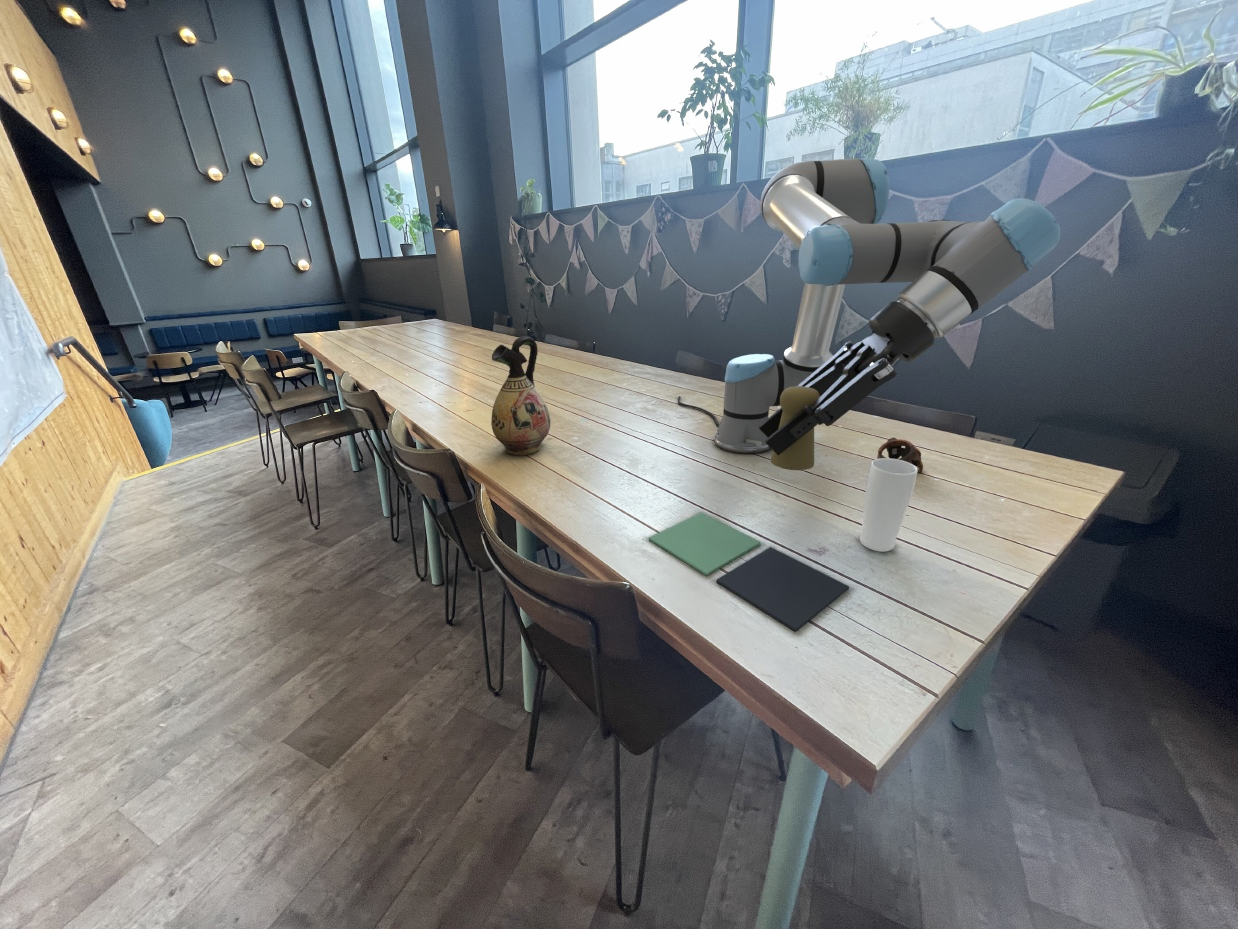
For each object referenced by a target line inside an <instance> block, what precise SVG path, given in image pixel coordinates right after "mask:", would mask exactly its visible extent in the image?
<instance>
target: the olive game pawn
mask: <svg viewBox="0 0 1238 929" xmlns="http://www.w3.org/2000/svg"><path fill="white" fill-rule="evenodd" d="M819 398H820V395H819V393H818V391H817V390H815V389H813V388H809V387H803V386H795V387H789V388H787V389H785V390H784V391H783V392H782V394H781V397H780V405H781V408H782V410H783V413H782V417H781V420H780V424H779V428H781V427H782V426H783V425H784V424H785V423H787V422H788V421H789V420H790V419H791V418H793V417H794V416H795V415H796V414H798V413H799V412H800V411H801V410H802V409H803V406H804V405H808V406H810V407H811V406H812V405H813V404H814V403H815V402H816V401H817V400H818V399H819ZM807 414H808V413H807ZM779 428H778V429H779ZM770 462H771V464H772V465H773V466H775V467H777V468H780V469H783V470H789V471H806V470H809V469H812V468H813V467H814V466H815V427H814V428H813V429H811V430H810V431H809V432H807V433H806V434H805V435H804V436H802V437H801V438H800V439H799V440H797V441H796V442H795V443H794V444H792V445H791V446H790V447H789V448H787V449H786V450H785V451H784V452H782V453H781V454H780V455H779V456H778V455H777V454H776V453H775V452H774V451H773V450H772V452H771V455H770Z"/></svg>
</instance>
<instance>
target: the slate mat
mask: <svg viewBox="0 0 1238 929" xmlns="http://www.w3.org/2000/svg"><path fill="white" fill-rule="evenodd" d="M715 582H716V584H718V585H720V586H721V587H723V588H725V589H726V590H728V591H729V592H731V593H733V594H735V596H738V597H739V598H741V599H742V600H744V601H746V602H747V603H749V604H750V605H752V606H753V607H755V608H757V609H758V610H759V611H762V612H763V613H765V614H766V615H768V616H769V617H771V618H773V619H774V620H775V621H777V622H778V623H781V624H782V625H784V626H785V627H787V628H788V629H790V630H792V631H793V632H797V631H799V630H800V629H801V628H803V627H804V626H805V625H806V624H807V623H809V622H810V621H811V620H812V619H813V618H814V617H816V616H817V615H819V614H820V613H821V612H822V611H824V610H825V609H826V608H827V607H828V606H829V605H831V604H833V602H835V600H837V599H839V598H840V597H841V596H842V595H844V593H845V592H847V591H848V590H850V586H849V585H847V584H845V583H844V582H841V581H839V580H837V579H835V578H833V577H832V576H829V575H828V574H826V573H824V572H822V571H819V570H817V569H815V568H813V567H811V566H809V565H807V564H806V563H804V562H802V561H799V560H798V559H795V558H794V557H792V556H790V555H788V554H786V553H784V552H782V551H780V550H777V549H775V548H773V547H772V546H769V547H768V548H766V549H765V550H763V551H761V552H759V553H758V554H756V555H755V556H753V557H751V558H750V559H748V560H747V561H745V562H743V563H741V564H740V565H738V566H737V567H734V568H733V569H731V570H730V571H727V573H725V574H723V575H721V576H719V577H718V578H717V579H716V580H715Z"/></svg>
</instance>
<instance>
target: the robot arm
mask: <svg viewBox="0 0 1238 929" xmlns="http://www.w3.org/2000/svg"><path fill="white" fill-rule="evenodd" d="M889 197H890V177H889V173H888V170H887V167H886V165H885V163H883V162H882V161H881V160H879V159H876V158H861V157H853V158H839V159H826V160H825V159H824V160H823V159H822V160H803V161H798V162H794V163H792V164H789V165H788V166H787V165H786V166H785V167H783V168H782V169H780V170H779V171H777V172H776V173H775V174H774V175H773V176H772V177H771V178H770V179H769V181H768V182H767V183H766V185H765V186H764V188H763V191H762V193H761V196H760V201H759V202H760V203H759V210H760V213H761V217H762V219H763V220H764V222H765V223H766V224H767V225H768V226H769V227H770V229H772V230H774V231H776V232H780V233H783V234H784V235H785V236H786V237H787V239H789V241H791V242H792V243H793V245H794V246H795V247H796V248H797V249H798V250H799V252H798V260H797V261H798V262H797V263H798V265H797V266H798V270H799V271H798V272H799V277H800V280H802V281H803V282H804V285H803V290H802V295H801V299H800V304H799V310H798V315H797V320H796V325H795V330H794V333H793V338H792V339H793V340H792V344H791V346H789V347H788V348H786V349H785V350H784V352H783V357H782V360H779V359H777V360H776V359H775V357H774V355H772V354H768V353H762V354H760V353H753V354H745V355H741V356H738V357H735V358H732V359H731V360H729V362H728V363H727V364H726V368H725V369H726V370H725V376H724V397H723V410H722V417H721V419H720V421H718V419H717V416H716V415H714V414H713V413H712V412H710V411H708V410H706V409H704V408H702V407H699V406H695V405H693V404H687V403H683V402H682V401H681V398H682V397H681V395H678V397H677V403H678V404H679V405H680V406H683V407H686V408H692V409H696V410H699V411H701V412H704V413H706V414H708V415H709V416H711V417H712V418H713V420H714V423H715V424H716V426H717V429H716V432H715V435H714V444H715V445H716V446H717V447H718V448H720V449H721V450H724V451H728V452H731V453H738V454H760V453H764V452H767V451H769V450H770V449H771V450H772V452H773V451H774V452H775V453H776V454H777V455H778V456H779V455H780V454H781V453H782V452H784V451H785V450H786V449H787V448H789V447H790V446H791V445H792V444H794V443H795V442H796V441H797V440H799V439H800V438H801V437H802V436H804V435H805V434H806V433H807V432H809V431H810V430H811V429H813V428H814V429H815V427H817V426H822V425H823V424H824V425H825V427H830V426H832V425H833V424H834V423H835V422H837V421H838V420H839V419H840V418H842V417H843V416H844V415H846V414H847V413H848V412H849V411H851V410H852V409H853V408H854V407H855V406H857V405H858V404H859V403H861V402H862V401H863V400H864V399H865V398H867V397H868V396H870V394H872V393H873V392H874V391H875V390H878V388H879V387H880V386H882V385H884V384H885V383H887V382H889V381H891V380H892V379H894V378H895V377H896V376H898V371H897V370H896V369H895V368H894V367H893V365H894V363H896V361H897V360H898V359H899V360H900V361H903V362H905V363H911V362H913V361H914V360H915V359H917V358H918V357H919V356H921V355H922V354H924V353H925V352H926V351H927V350H929V349H930V348H931V347H932V346H933V345H934V343H935V339H941V338H943V337H944V336H946V334H948V333H950V332H951V331H952V330H957V329H958V328H959V327H960V326H961V324H960V323H962V322H963V321H965V320H966V319H967V318H968V317H970V315H972V314H974V313H975V312H976V311H978V310H979V309H980V308H982V307H983V306H984V305H985V304H987V303H988V302H990V301H991V300H992V299H993V298H995V297H996V296H997V295H998V294H1000V293H1001V292H1003V291H1004V290H1005V289H1006V288H1009V286H1010V285H1011V284H1013V283H1014V282H1016V281H1017V280H1018V279H1019V278H1021V277H1022V276H1023V275H1024V274H1026V273H1027V272H1030V271H1031V270H1032V269H1033V267H1034V265H1036V264H1037V263H1038V262H1039V261H1040V260H1042V259H1043V258H1044V257H1045V256H1046V255H1047V254H1049V253H1050V252H1051V251H1053V249H1055V248H1056V247H1057V245H1058V244H1059V241H1060V239H1061V228H1060V224H1059V223H1058V221H1057V219H1056V218H1055V216H1054V214H1052V212H1051V211H1050V210H1049V209H1047V208H1046V207H1045V206H1043V205H1042V204H1040V203H1039V202H1037V201H1034V200H1032V199H1029V198H1014V199H1012V200H1009V201H1008V202H1006V203H1005V204H1003V205H1002V206H1001V207H1000V208H997V210H994V211H993V212H991V213H990V215H989V216H988V217H987V218H986V219H985V220H984V221H968V222H967V221H956V220H955V221H954V220H953V221H952V220H950V219H943V218H942V219H931V220H927V221H915V222H913V221H912V222H889V223H888V222H887V223H880V222H881V220H882V218H883V216H884V215H885V213H886V210H887V207H888V204H889ZM887 283H888V284H889V283H909V285H907V286H906V287H905V288H904V289H902V290H901V291H900V292H899V293H898V294H897V297H896V301H895V300H894V301H893V300H892V301H889V302H888V303H887V304H885V305H884V307H882V308H880V310H878V311H877V313H875V314H874V315H873V316H872V317H870V319H869V320H868V327H869V329H870V330H871V334H870V335H869V336H867V337H865V338H864V339H862V340H861V341H857V342H856V343H855V344H854V343H853V342H852V341H851V340H849V341H847V342H845V343H844V345H843V346H842V347H841V348H840V349H839V350H838V351H837V352H836V353H835V354H834V355H833V353H832V352H831V351H830V348H831V343H832V341H833V340H832V339H833V337H834V333H835V329H836V324H837V321H838V316H839V313H840V308H841V305H842V301H843V297H844V293H845V289H846V285H858V284H859V285H860V284H861V285H862V284H887ZM795 386H803V387H809V388H813V389H815V390H817V391H818V393H819V395H820V398H819V399H818V400H817V401H816V402H815V403H814V404H813V405H812V406H811V407H810V406H808V405H804V406H803V409H802V410H801V411H800V412H799V413H798V414H796V415H795V416H794V417H793V418H791V419H790V420H789V421H788V422H787V423H785V424H784V425H783V426H782V427H781V428H779V424H780V420H781V417H782V413H783V410H782V408H780V409H779V410H778V409H777V411H775V412H774V413H773V414H771V415H769V414H770V408H771V407H778V406H781V405H780V397H781V394H782V392H783V391H784V390H785V389H787V388H789V387H795ZM807 413H808V414H807ZM778 428H779V429H778Z"/></svg>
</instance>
